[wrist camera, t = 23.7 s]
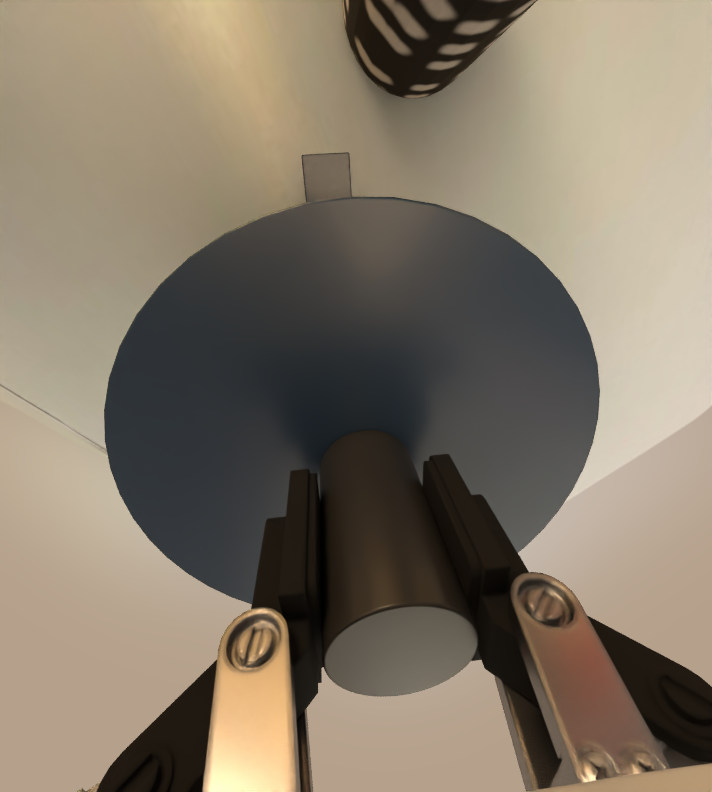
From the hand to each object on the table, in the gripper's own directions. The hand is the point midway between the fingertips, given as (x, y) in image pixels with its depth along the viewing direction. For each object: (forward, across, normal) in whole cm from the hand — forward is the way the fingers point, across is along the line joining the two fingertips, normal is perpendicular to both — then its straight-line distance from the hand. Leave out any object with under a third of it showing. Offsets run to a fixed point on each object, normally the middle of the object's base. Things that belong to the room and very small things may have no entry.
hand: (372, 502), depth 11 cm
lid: (+2, 0, 0) cm, 2 cm away
